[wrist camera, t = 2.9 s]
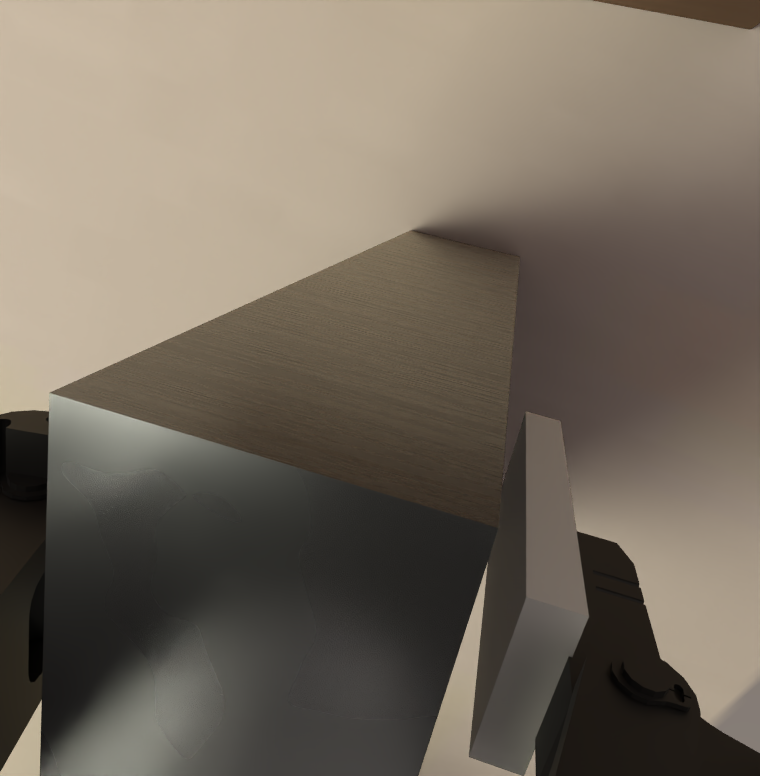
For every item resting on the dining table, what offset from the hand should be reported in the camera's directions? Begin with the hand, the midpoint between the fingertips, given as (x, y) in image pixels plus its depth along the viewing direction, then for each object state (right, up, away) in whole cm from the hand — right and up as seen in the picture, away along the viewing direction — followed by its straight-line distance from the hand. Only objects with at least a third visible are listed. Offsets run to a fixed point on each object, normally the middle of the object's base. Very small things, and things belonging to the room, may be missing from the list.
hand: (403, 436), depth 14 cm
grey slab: (+1, +1, +4) cm, 4 cm away
